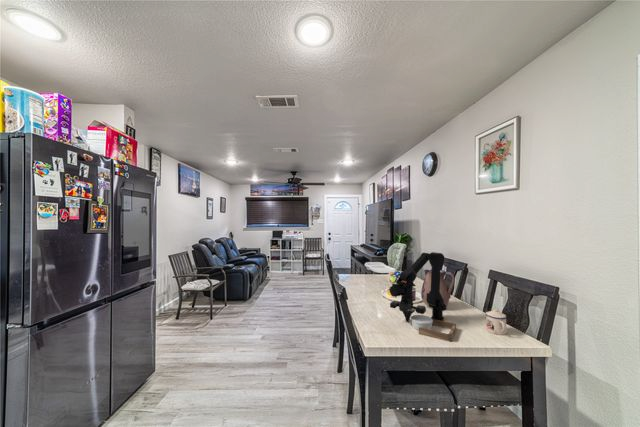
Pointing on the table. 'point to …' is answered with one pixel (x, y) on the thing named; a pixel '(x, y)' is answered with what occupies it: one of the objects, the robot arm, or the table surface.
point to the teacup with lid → (496, 322)
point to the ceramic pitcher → (443, 287)
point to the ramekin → (421, 322)
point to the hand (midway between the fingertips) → (407, 322)
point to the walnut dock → (439, 334)
